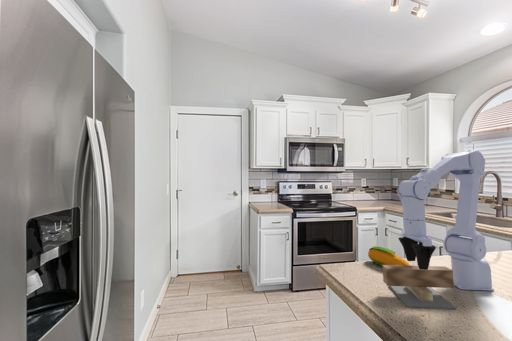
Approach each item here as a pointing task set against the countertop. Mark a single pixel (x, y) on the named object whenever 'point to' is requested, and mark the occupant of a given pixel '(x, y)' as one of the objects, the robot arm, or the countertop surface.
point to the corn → (385, 257)
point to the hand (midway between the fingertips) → (416, 264)
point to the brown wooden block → (418, 276)
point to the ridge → (422, 293)
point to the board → (413, 301)
